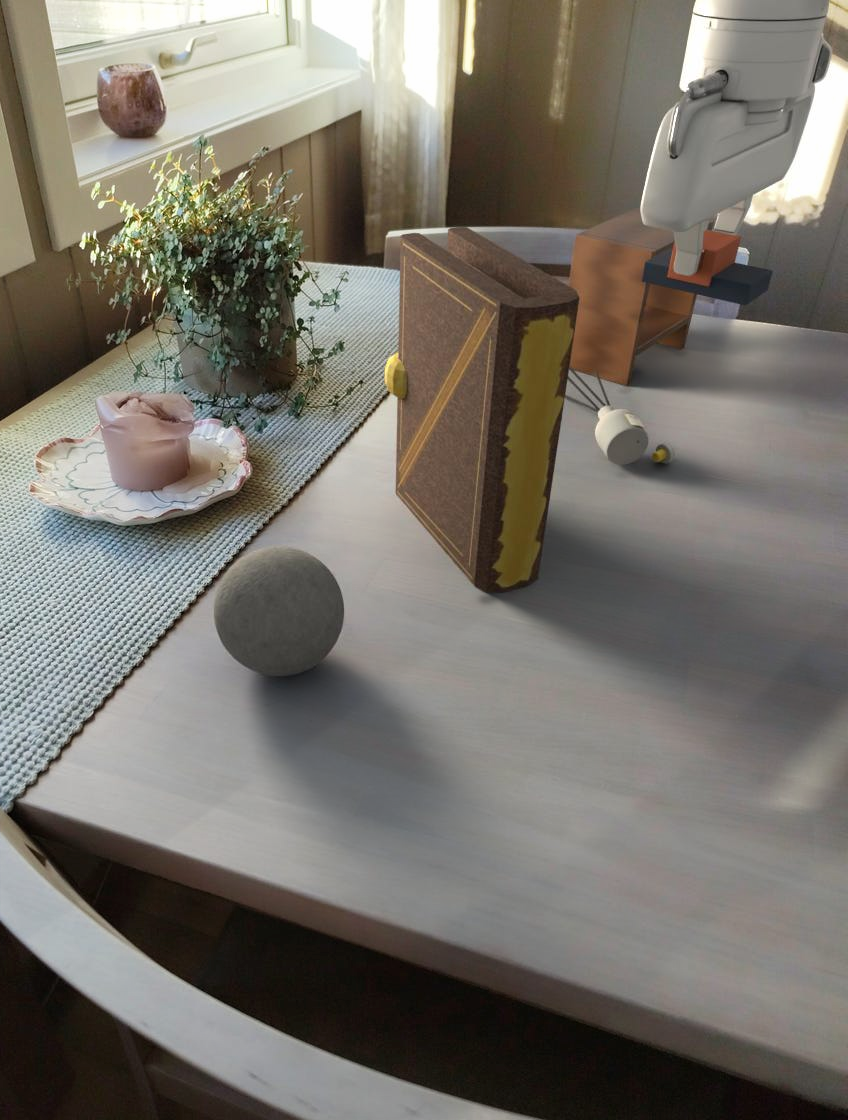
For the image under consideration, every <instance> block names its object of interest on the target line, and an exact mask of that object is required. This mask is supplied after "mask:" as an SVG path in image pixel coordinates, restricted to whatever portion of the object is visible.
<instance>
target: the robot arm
mask: <svg viewBox="0 0 848 1120" xmlns="http://www.w3.org/2000/svg"><path fill="white" fill-rule="evenodd" d="M829 7H830V0H695V2H694V5H693V10H692V16H691V20H690V25H689V30H688V31H689V32H688V36H687V42H686V48H685V52H684V59H683V64H682V70H681V75H680V80H679V89H680V90H681V92H684V93H683V95H682V96H681V98H680V100H679V101H677V102H676V103H675V105H674V106H673V107H672V108H670V109H669V110H667V112H666V113H665V115H664V116H663V119H662V120H661V123H660V126H659V128H658V131H657V133H656V137H655V142H654V145H653V149H652V152H651V156H650V161H649V165H648V169H647V172H646V178H645V183H644V188H643V192H642V196H641V202H640V206H641V209H640V210H641V217H642V221H643V224H644V225H646V226H649V227H654V228H658V229H663V230H668V231H674V237H675V243H676V250H677V252H676V257H675V262H674V267H673V268H674V271H675V272H676V273H677V274H681V275H685V276H691V275H693V274H695V273H697V272H698V271H699V270H700V269H701V268H702V265H703V260H704V256H705V252H706V249H702V248H703V233H704V231H706V230H707V228H708V223H709V220H711V218H713V217H714V216H717V218H716V220H715V222H714V225H713V226H714V227H713V228H712V231H715V232H720V233H725V234H731V235H736V236H738V232H739V231H740V228H741V227H742V224H743V223H744V220H745V218H746V216H747V214H748V212H749V210H750V208H751V205H752V201H753V197H754V196H755V195H756V194H757V193H759V192H762V191H763V190H766V189H767V188H770V187H771V186H773V185H775V184H777V183H778V182H780V181H782V180H783V179H785V177H786V175H787V173H788V171H789V170H790V168H791V166H792V164H793V162H794V160H795V157H796V155H797V152H798V149H799V146H800V143H801V140H802V137H803V133H804V131H805V128H806V125H807V121H808V118H809V115H810V112H811V109H812V106H813V102H814V98H815V93H816V85H815V84H818V83H821V82H823V80H824V79H825V78H826V76H827V75H828V71H829V68H830V64H831V60H832V58H833V57H832V56H833V48H832V46H831V45H830V44H829V43H828V42H827V41H826V39H825V37H824V33H823V31H824V28H825V24H826V20H827V17H828V13H829Z"/></svg>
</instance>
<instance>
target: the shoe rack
mask: <svg viewBox="0 0 848 1120" xmlns="http://www.w3.org/2000/svg"><path fill="white" fill-rule="evenodd" d="M640 209H641V205H640V206H638V207H635V208H634V209H631V210H629V211H626V212H624V213H622V214H620V215H617V216H615V217H612V218H611V219H608V220H606V221H604V222H602V223H599V224H597V225H595V226H592V227H590V228H588V229H586V230H583V231H581V232H579V233H576V234H575V235H574V236H575V237H574V243H573V249H572V250H573V251H572V258H571V265H570V273H569V280H568V286H569V287H571V288H573V289H574V290H576V291H577V293H578V295H579V297H580V298H579V305H578V312H577V318H576V325H575V332H574V339H573V345H572V352H571V359H570V367H571V368H572V369H573V370H574V371H575V372H576V371H577V372H580V373H584V374H586V375H589V376H593V377H596V374H595V371H594V370H597V373H598V375H599V378H600V379H603V380H605V381H608V382H612V383H615V384H618V385H622V386H624V387H628V386H629V385H631V383H632V378H633V372H634V367H635V362H636V357H637V356H639V355H641V354H642V353H644V352H645V351H646V350H648V349H650V348H651V347H653V346H654V345H657V344H660V345H664V346H667V347H671V348H675V349H678V350H683V349H684V348H686V343H687V340H688V336H689V331H690V326H691V322H692V317H693V315H694V314H693V313H694V310H695V305H696V301H697V297H698V294H693V293H689V292H685V291H681V290H676V289H672V288H668V287H663V286H659V285H655V284H651V283H646V282H642V276H643V270H644V265H645V262H646V261H648V260H650V259H651V258H653V257H655V256H657V255H659V254H661V253H662V252H664V251H666V250H668V249H672V250H673V247H674V242H675V237H674V231H668V230H663V229H658V228H654V227H649V226H646V225H644V224H643V221H642V217H641V210H640ZM714 224H715V221H714V219H713V220H712V219H709V223H708V228H707V230H710V231H712V230H713V228H714V227H713V226H714Z"/></svg>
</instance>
